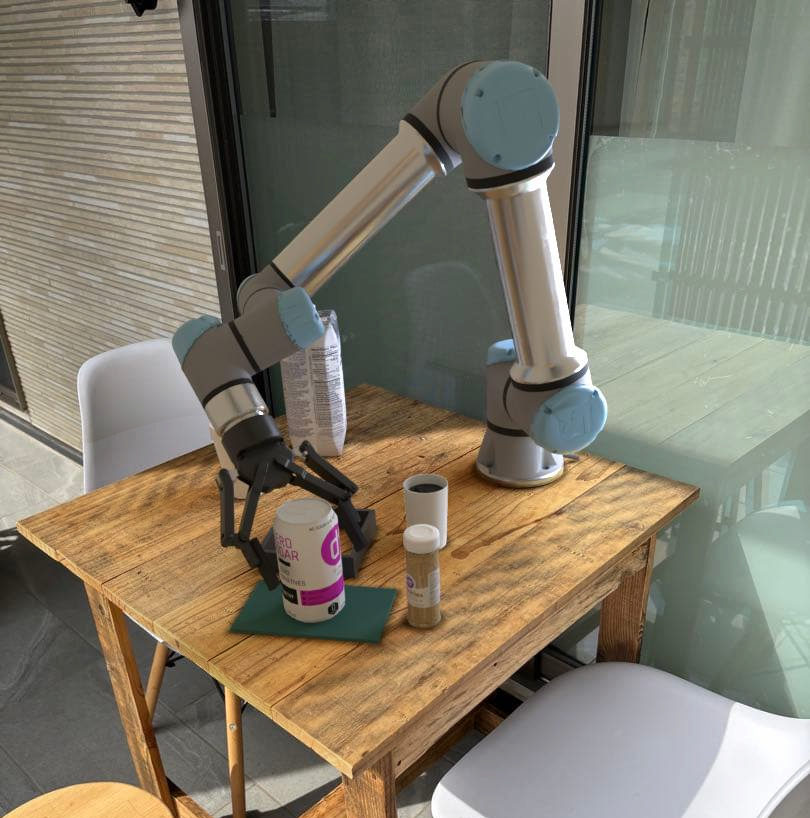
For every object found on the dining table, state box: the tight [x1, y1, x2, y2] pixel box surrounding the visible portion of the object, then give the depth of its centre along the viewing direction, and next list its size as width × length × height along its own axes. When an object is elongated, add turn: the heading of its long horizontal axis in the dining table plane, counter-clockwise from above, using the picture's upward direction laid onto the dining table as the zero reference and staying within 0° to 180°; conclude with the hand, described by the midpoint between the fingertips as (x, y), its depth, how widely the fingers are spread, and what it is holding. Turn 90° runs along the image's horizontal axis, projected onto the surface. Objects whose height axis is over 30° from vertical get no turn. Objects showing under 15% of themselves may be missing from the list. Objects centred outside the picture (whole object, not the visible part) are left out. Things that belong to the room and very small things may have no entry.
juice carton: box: [279, 303, 348, 457], centre depth 155 cm, size 9×10×27 cm
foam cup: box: [208, 421, 264, 500], centre depth 144 cm, size 10×9×13 cm
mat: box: [229, 579, 398, 645], centre depth 115 cm, size 20×12×1 cm, turn 79°
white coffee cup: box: [402, 473, 449, 550], centre depth 127 cm, size 7×7×10 cm
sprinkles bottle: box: [402, 524, 442, 629], centre depth 109 cm, size 5×5×13 cm
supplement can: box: [272, 496, 345, 623], centre depth 111 cm, size 8×8×15 cm
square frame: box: [257, 506, 378, 579], centre depth 128 cm, size 15×15×4 cm
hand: (320, 567), depth 109 cm, fingers open, 13 cm apart
